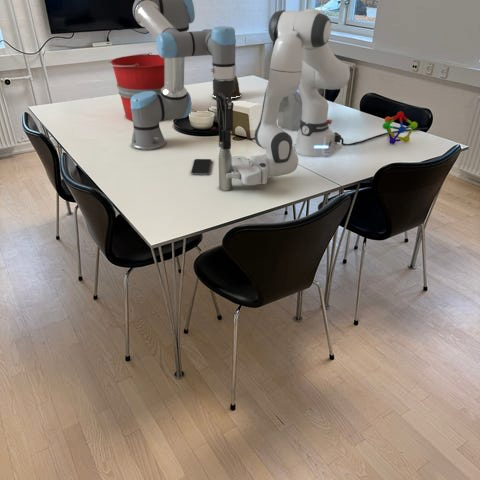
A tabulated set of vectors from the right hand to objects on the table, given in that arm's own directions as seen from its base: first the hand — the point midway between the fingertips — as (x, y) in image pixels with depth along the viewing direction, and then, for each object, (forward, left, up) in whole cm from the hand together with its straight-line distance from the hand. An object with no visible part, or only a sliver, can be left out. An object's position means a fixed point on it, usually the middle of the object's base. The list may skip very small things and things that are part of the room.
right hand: (223, 172), depth 164 cm
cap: (-1, 0, +12) cm, 12 cm away
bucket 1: (-38, -98, -7) cm, 105 cm away
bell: (-96, -95, -7) cm, 135 cm away
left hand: (-1, 0, +10) cm, 10 cm away
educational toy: (-93, +23, -7) cm, 96 cm away
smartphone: (-8, -21, -7) cm, 23 cm away
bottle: (-1, 0, -7) cm, 7 cm away
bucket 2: (-81, -28, -7) cm, 86 cm away
